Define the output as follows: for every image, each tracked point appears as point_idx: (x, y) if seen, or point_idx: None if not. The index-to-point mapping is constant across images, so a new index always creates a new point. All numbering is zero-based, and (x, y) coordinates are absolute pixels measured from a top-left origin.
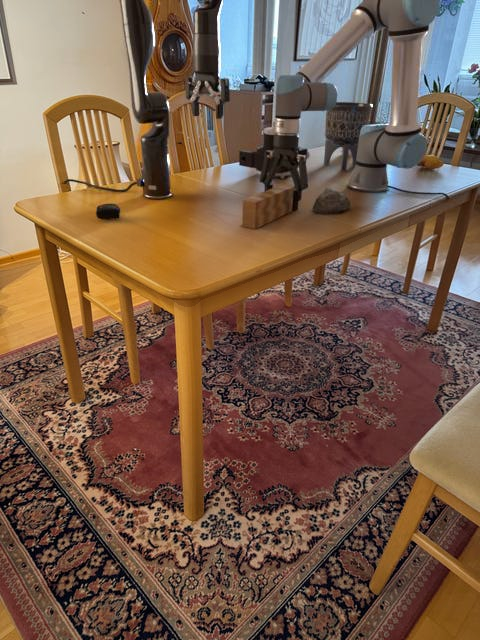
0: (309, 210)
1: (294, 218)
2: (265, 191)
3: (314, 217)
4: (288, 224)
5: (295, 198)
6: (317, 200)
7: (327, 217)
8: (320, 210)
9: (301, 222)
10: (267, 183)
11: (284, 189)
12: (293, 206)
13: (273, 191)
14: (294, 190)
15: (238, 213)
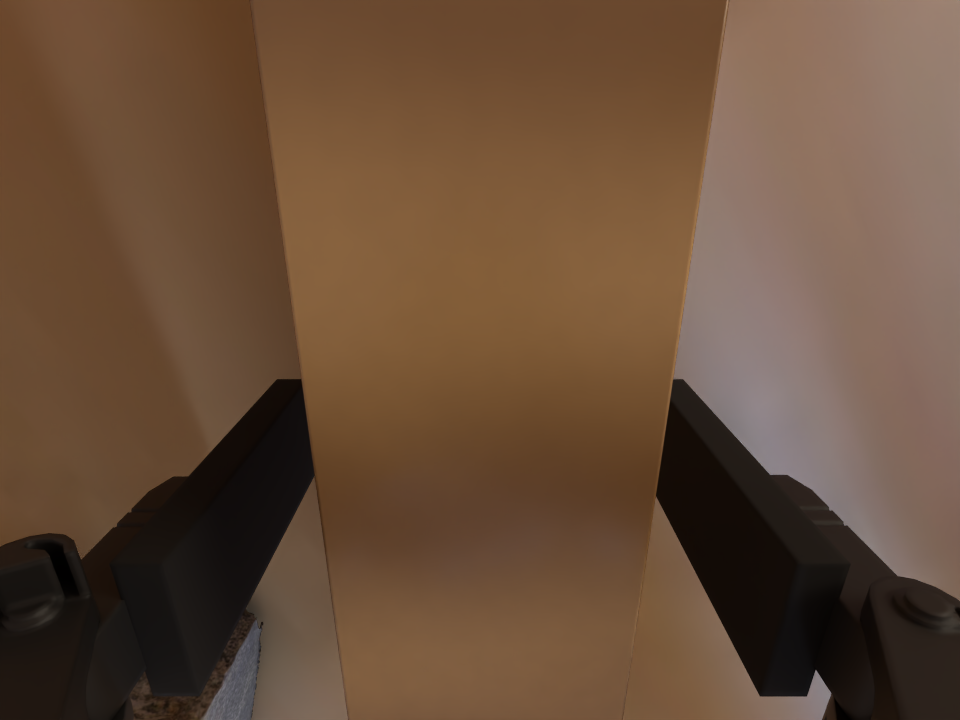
0: (294, 597)
1: (238, 295)
2: (675, 59)
3: (114, 450)
4: (130, 21)
5: (197, 485)
6: (170, 708)
7: (32, 519)
8: None
9: (81, 211)
10: (875, 615)
11: (371, 542)
12: (264, 409)
13: (476, 224)
14: (165, 592)
15: (939, 14)
